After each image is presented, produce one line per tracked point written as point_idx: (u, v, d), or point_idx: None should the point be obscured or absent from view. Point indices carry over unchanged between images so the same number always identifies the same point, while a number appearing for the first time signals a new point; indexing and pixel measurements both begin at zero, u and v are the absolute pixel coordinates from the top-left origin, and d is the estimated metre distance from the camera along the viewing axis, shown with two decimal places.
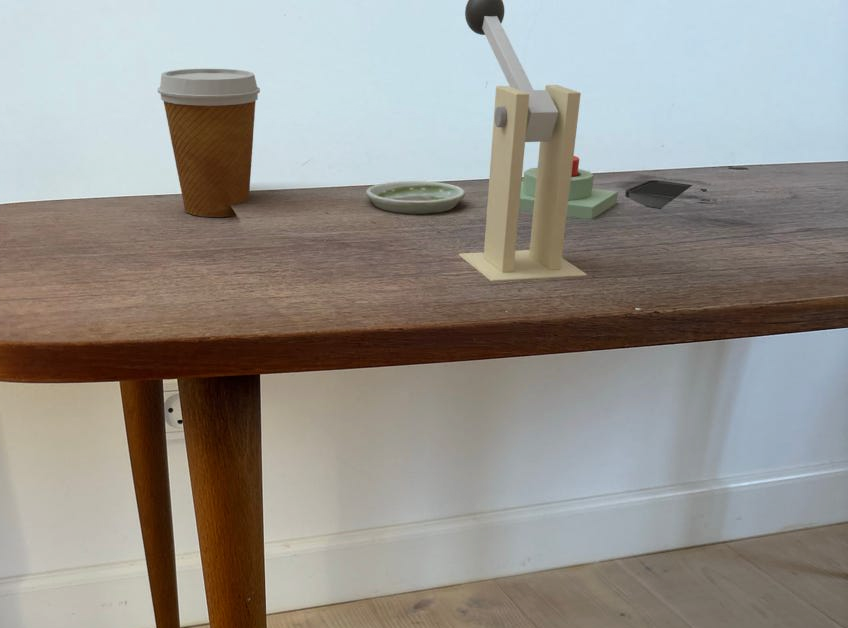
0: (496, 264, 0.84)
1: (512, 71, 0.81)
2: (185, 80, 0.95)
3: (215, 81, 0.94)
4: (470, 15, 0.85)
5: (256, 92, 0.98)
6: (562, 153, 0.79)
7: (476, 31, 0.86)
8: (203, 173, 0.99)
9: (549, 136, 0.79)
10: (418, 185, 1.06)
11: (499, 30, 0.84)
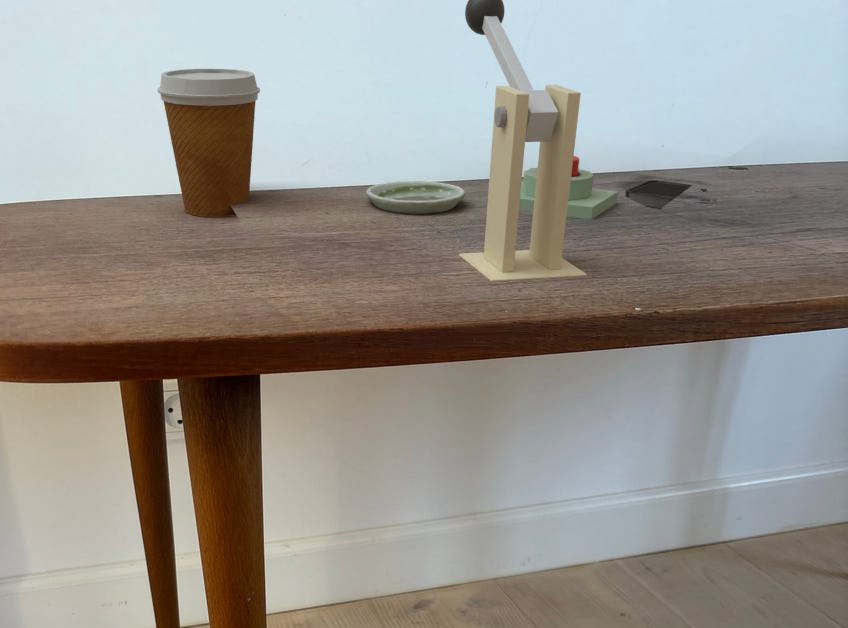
0: (496, 264, 0.84)
1: (512, 71, 0.81)
2: (185, 80, 0.95)
3: (215, 81, 0.94)
4: (470, 15, 0.85)
5: (256, 92, 0.98)
6: (562, 153, 0.79)
7: (476, 31, 0.86)
8: (203, 173, 0.99)
9: (549, 136, 0.79)
10: (418, 185, 1.06)
11: (499, 30, 0.84)
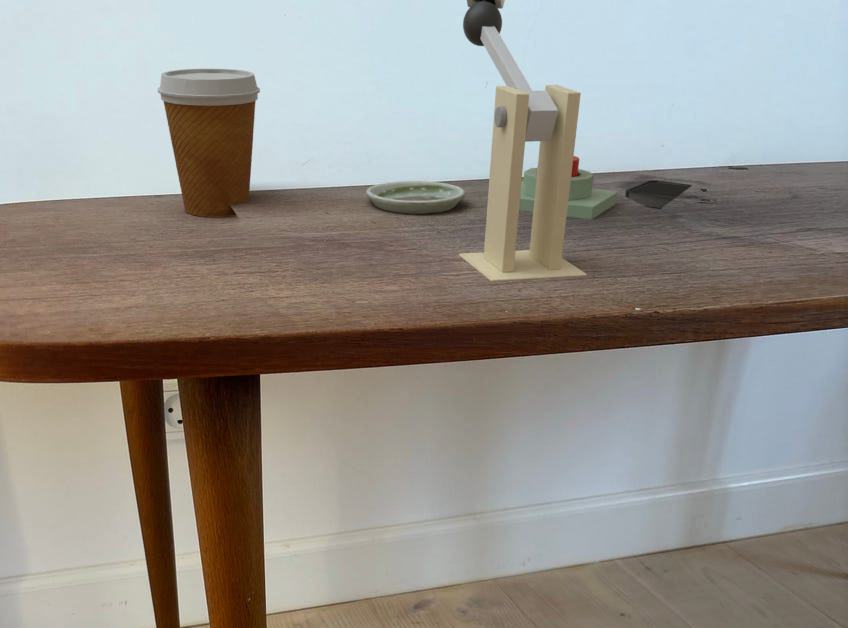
0: (496, 264, 0.84)
1: (511, 75, 0.81)
2: (185, 80, 0.95)
3: (215, 81, 0.94)
4: (468, 26, 0.86)
5: (256, 92, 0.98)
6: (562, 153, 0.79)
7: (474, 42, 0.87)
8: (203, 173, 0.99)
9: (550, 135, 0.79)
10: (418, 185, 1.06)
11: (497, 38, 0.84)
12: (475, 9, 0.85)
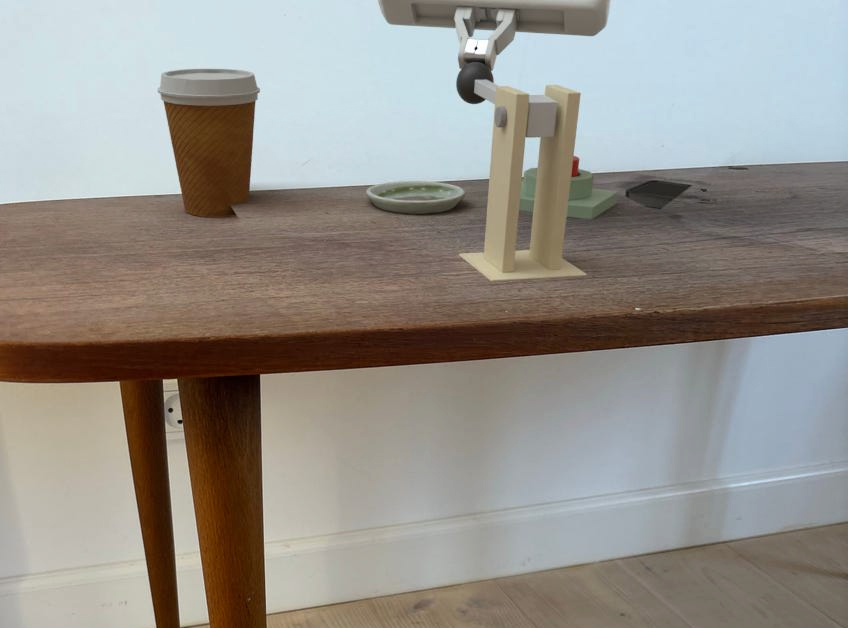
0: (496, 264, 0.84)
1: None
2: (185, 80, 0.95)
3: (215, 81, 0.94)
4: (461, 83, 0.89)
5: (256, 92, 0.98)
6: (562, 153, 0.79)
7: (469, 98, 0.90)
8: (203, 173, 0.99)
9: (552, 130, 0.79)
10: (418, 185, 1.06)
11: (490, 83, 0.87)
12: (466, 67, 0.89)
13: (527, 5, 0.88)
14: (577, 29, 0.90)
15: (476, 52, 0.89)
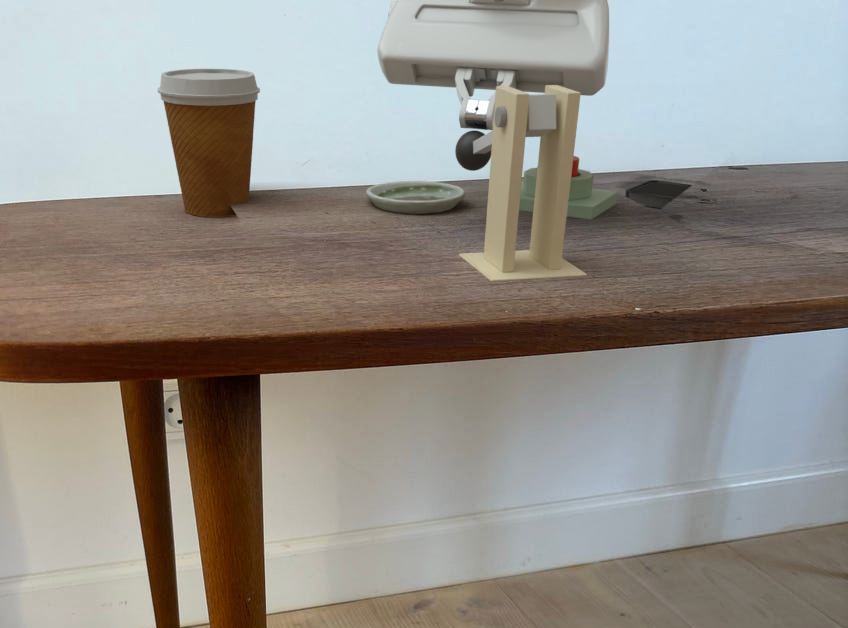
0: (496, 264, 0.84)
1: None
2: (185, 80, 0.95)
3: (215, 81, 0.94)
4: (460, 148, 0.91)
5: (256, 92, 0.98)
6: (562, 153, 0.79)
7: (469, 161, 0.91)
8: (203, 173, 0.99)
9: (554, 122, 0.78)
10: (418, 185, 1.06)
11: None
12: (463, 134, 0.91)
13: (527, 66, 0.90)
14: (576, 89, 0.91)
15: (477, 112, 0.90)
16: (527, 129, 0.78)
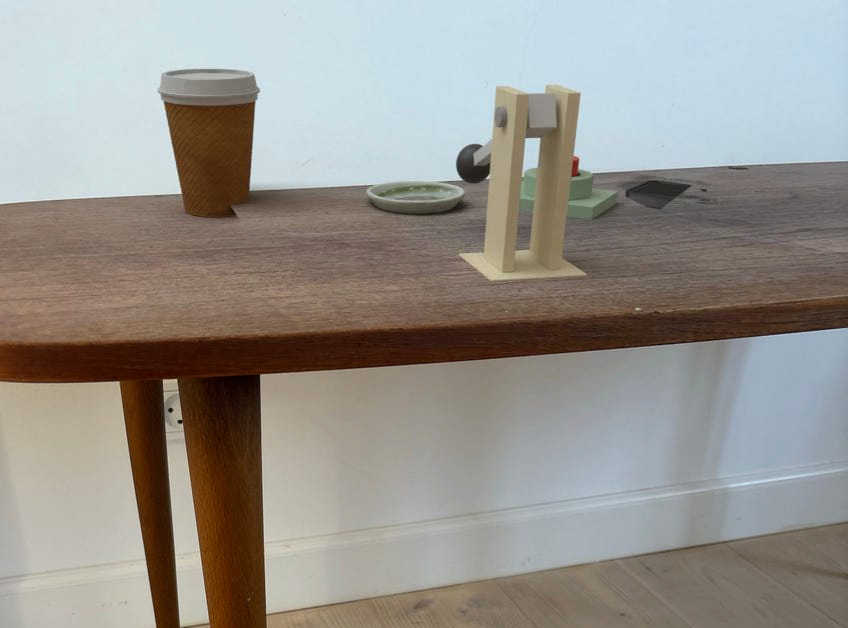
0: (496, 264, 0.84)
1: None
2: (185, 80, 0.95)
3: (215, 81, 0.94)
4: (460, 161, 0.92)
5: (256, 92, 0.98)
6: (562, 153, 0.79)
7: (470, 173, 0.92)
8: (203, 173, 0.99)
9: (554, 121, 0.78)
10: (418, 185, 1.06)
11: None
12: (464, 148, 0.92)
13: None
14: None
15: None
16: (527, 128, 0.78)
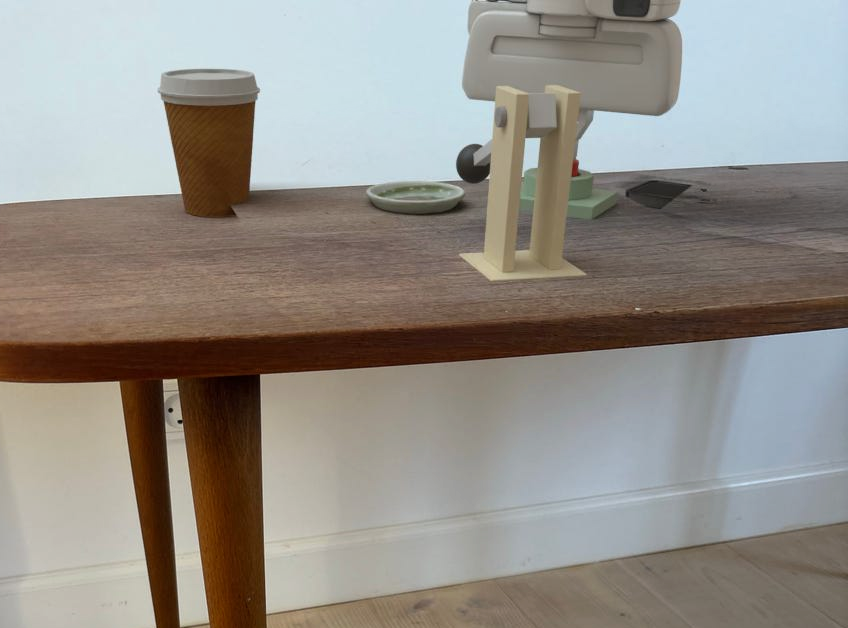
0: (496, 264, 0.84)
1: None
2: (185, 80, 0.95)
3: (215, 81, 0.94)
4: (460, 161, 0.92)
5: (256, 92, 0.98)
6: (562, 153, 0.79)
7: (470, 173, 0.92)
8: (203, 173, 0.99)
9: (554, 121, 0.78)
10: (418, 185, 1.06)
11: None
12: (464, 148, 0.92)
13: (597, 110, 0.96)
14: None
15: None
16: (527, 128, 0.78)
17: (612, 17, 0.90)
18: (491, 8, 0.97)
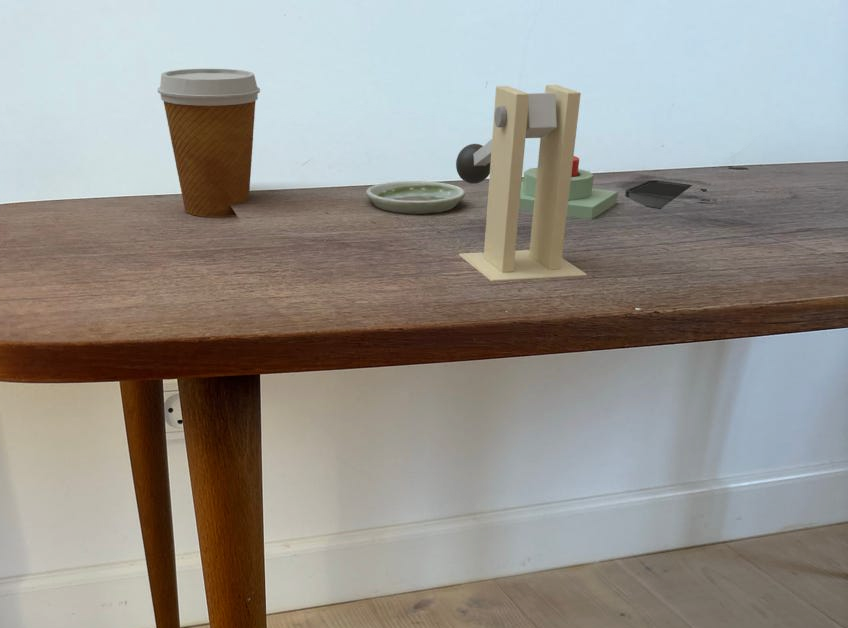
0: (496, 264, 0.84)
1: None
2: (185, 80, 0.95)
3: (215, 81, 0.94)
4: (460, 161, 0.92)
5: (256, 92, 0.98)
6: (562, 153, 0.79)
7: (470, 173, 0.92)
8: (203, 173, 0.99)
9: (554, 121, 0.78)
10: (418, 185, 1.06)
11: None
12: (464, 148, 0.92)
13: None
14: None
15: None
16: (527, 128, 0.78)
17: None
18: None
